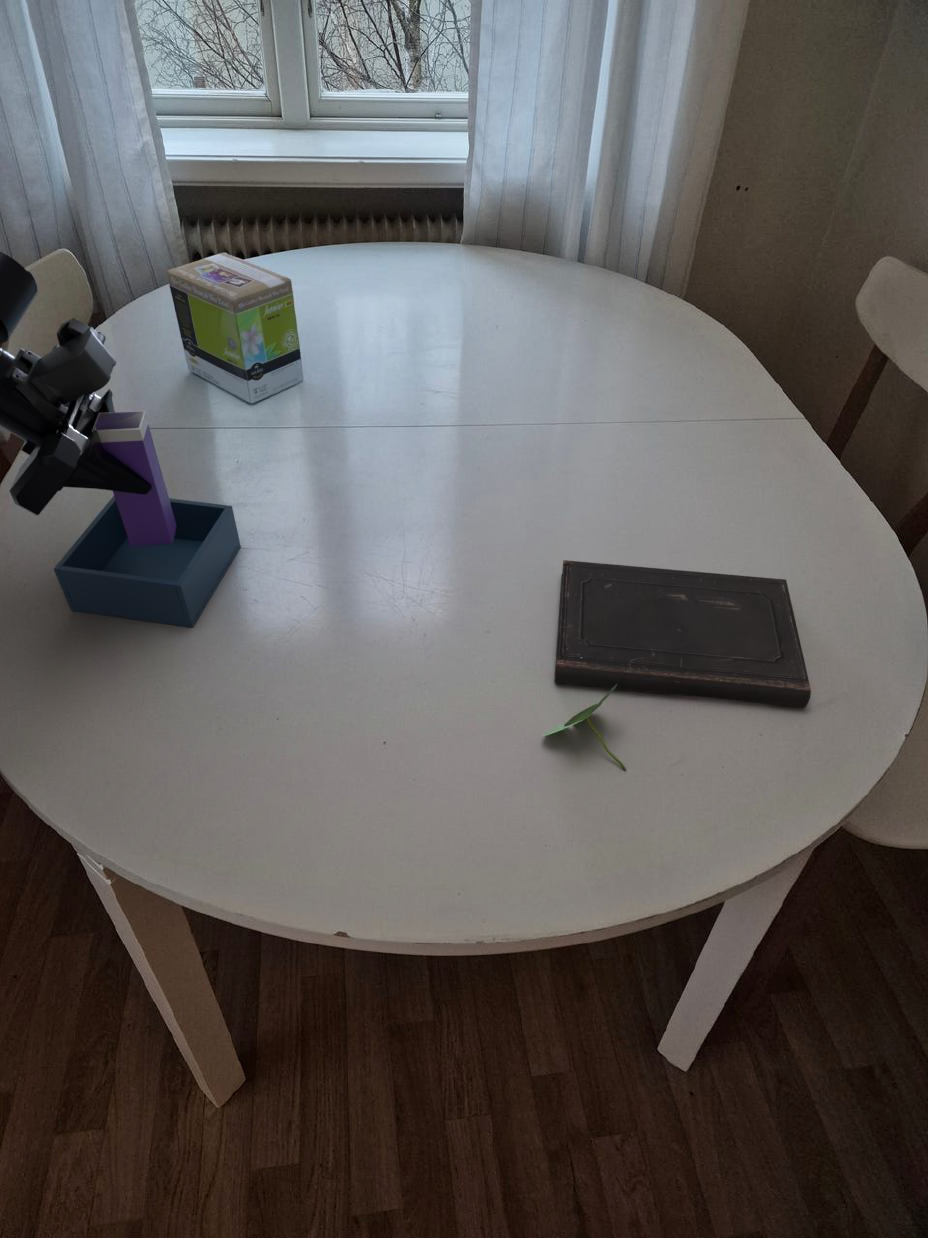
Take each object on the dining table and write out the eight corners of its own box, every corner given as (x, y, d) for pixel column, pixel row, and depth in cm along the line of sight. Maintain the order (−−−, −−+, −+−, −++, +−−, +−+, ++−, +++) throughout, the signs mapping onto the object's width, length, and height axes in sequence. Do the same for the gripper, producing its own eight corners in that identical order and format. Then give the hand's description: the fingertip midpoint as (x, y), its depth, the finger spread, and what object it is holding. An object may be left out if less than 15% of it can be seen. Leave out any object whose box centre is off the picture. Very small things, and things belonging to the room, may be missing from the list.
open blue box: (70, 610, 88) (53, 568, 84) (129, 532, 97) (116, 491, 93) (192, 627, 86) (180, 585, 82) (241, 546, 95) (232, 505, 92)
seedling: (588, 785, 79) (548, 725, 79) (663, 740, 76) (621, 678, 77) (576, 807, 72) (532, 740, 72) (657, 758, 70) (611, 690, 70)
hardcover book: (561, 576, 92) (563, 559, 91) (780, 595, 90) (786, 579, 89) (553, 686, 81) (556, 669, 79) (804, 711, 79) (812, 694, 77)
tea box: (307, 380, 123) (293, 277, 113) (250, 406, 118) (231, 300, 107) (241, 347, 130) (224, 248, 120) (185, 371, 125) (162, 268, 115)
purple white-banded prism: (130, 547, 84) (91, 431, 75) (135, 527, 86) (98, 412, 77) (173, 544, 84) (139, 428, 75) (177, 525, 86) (145, 410, 77)
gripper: (0, 365, 62) (189, 484, 70) (59, 262, 75) (212, 373, 84) (-69, 463, 67) (116, 563, 75) (-2, 351, 80) (149, 446, 89)
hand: (152, 480), depth 81 cm, fingers closed on purple white-banded prism, 3 cm apart
